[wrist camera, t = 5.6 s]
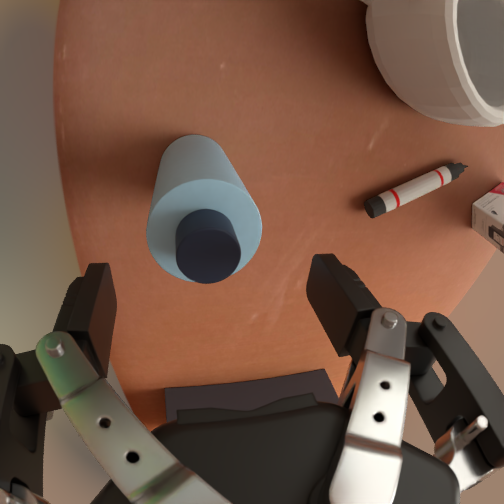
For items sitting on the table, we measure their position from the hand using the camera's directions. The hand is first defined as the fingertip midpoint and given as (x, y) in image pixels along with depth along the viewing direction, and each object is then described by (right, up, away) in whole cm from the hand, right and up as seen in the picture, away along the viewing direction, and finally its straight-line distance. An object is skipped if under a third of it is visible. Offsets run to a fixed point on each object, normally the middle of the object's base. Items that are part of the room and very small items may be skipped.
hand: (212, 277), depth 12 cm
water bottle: (-3, +8, +13) cm, 15 cm away
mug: (+16, +23, +9) cm, 29 cm away
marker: (+20, +9, +19) cm, 29 cm away
